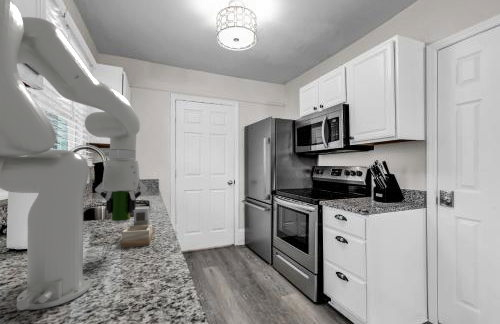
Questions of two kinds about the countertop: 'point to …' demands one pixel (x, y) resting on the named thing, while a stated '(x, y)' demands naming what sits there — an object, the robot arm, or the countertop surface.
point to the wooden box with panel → (138, 229)
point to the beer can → (120, 207)
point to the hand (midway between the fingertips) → (121, 211)
